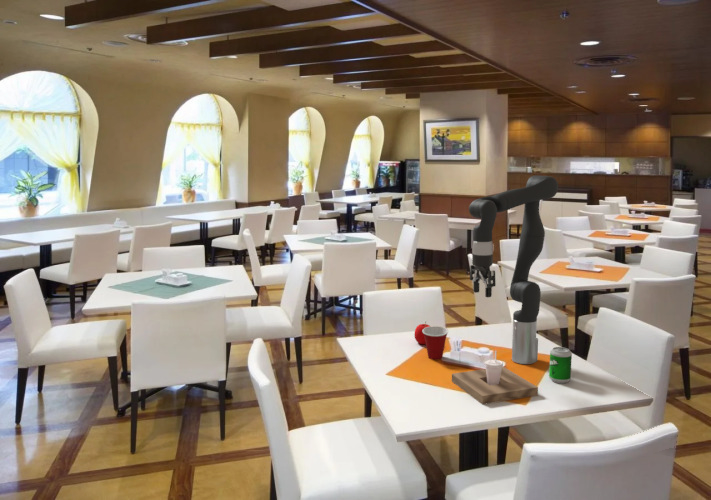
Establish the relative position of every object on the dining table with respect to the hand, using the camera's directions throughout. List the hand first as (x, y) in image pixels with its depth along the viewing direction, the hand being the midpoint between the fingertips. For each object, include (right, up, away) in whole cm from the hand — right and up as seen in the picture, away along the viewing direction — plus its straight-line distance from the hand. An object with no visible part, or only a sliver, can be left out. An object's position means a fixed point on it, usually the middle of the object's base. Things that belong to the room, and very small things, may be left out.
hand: (482, 294), depth 227 cm
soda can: (+28, -32, -5) cm, 42 cm away
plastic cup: (-15, -28, +21) cm, 38 cm away
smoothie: (+1, -33, -12) cm, 35 cm away
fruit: (-17, -25, +40) cm, 51 cm away
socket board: (+2, -33, -12) cm, 35 cm away
